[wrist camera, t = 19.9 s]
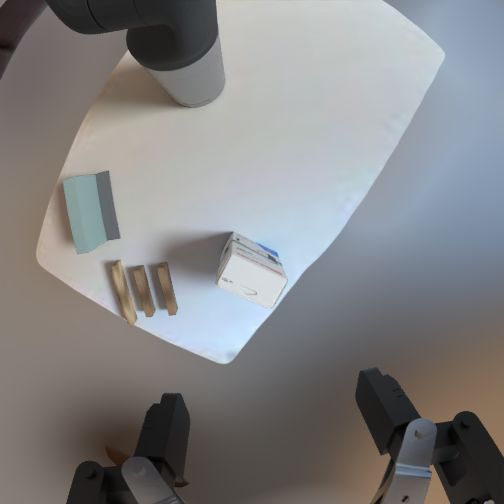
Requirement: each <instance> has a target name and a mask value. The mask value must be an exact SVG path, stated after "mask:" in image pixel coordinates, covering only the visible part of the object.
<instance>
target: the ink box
mask: <svg viewBox="0 0 504 504" xmlns="http://www.w3.org/2000/svg"><path fill="white" fill-rule="evenodd" d="M287 282H288V279H287V277H286V274H285V272H284V269H283V267H282V264H281V261H280V259H279V256H278V254H277V252H274V251H272V250H270V249H268V248H266V247H264V246H262V245H260V244H258V243H256V242H254V241H252V240H250V239H248V238H246V237H244V236H242V235H240V234H238V233H236V232H233V233H232V234H231V236H230V237H229V239H228V241H227V243H226V245H225V247H224V249H223V251H222V253H221V257H220V263H219V266H218V272H217V277H216V282H215V283H216V285H218V286H219V287H220V288H222V289H225V290H226V291H229V292H231V293H233V294H236V295H238V296H240V297H242V298H245V299H247V300H250V301H252V302H254V303H256V304H258V305H261V306H263V307H266V308H273V307H274V305H275V304H276V302H277V300H278V299H279V297H280V295H281V293H282V292H283V290H284V288H285V286H286V284H287Z"/></svg>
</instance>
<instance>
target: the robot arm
mask: <svg viewBox="0 0 504 504" xmlns="http://www.w3.org/2000/svg"><path fill="white" fill-rule="evenodd" d="M45 1H46V2H47V4H48V5H49V7H50V8H51V9H52V11H53V12H54V13H55V14H56V16H57V17H58V18H59V19H60V20H61V21H62V22H63V23H64V24H65V25H66V26H68V27H69V28H70V29H72V30H74V31H76V32H78V33H82V34H101V33H107V32H113V31H119V30H124V29H128V31H127V36H126V42H127V46H128V49H129V51H130V53H131V55H132V56H133V57H134V58H135V59H136V60H137V61H138V62H139V63H140V64H141V65H142V66H143V67H144V68H145V69H146V70H147V71H148V72H149V73H150V74H151V75H152V76H153V77H154V79H155V80H156V81H157V82H158V83H159V84H160V85H161V86H162V87H163V88H164V89H165V90H166V91H167V92H168V93H169V95H170V96H171V97H172V98H173V99H174V100H175V101H176V102H178V103H179V104H181V105H184V106H187V107H200V106H203V105H206V104H208V103H210V102H212V101H213V100H215V99H216V98H217V97H218V96H219V95H220V93H221V91H222V90H223V87H224V83H225V76H224V67H223V59H222V52H221V44H220V38H219V30H218V23H217V10H216V0H45ZM355 396H356V402H357V405H358V407H359V409H360V411H361V413H362V416H363V418H364V420H365V422H366V424H367V426H368V429H369V431H370V433H371V435H372V437H373V439H374V442H375V444H376V446H377V448H378V450H379V453H380V455H384V454H387V453H389V454H390V456H391V458H390V460H389V463H388V465H387V468H386V471H385V473H384V476H383V478H382V481H381V483H380V486H379V488H378V490H377V492H376V494H375V496H374V497H373V499H372V501H371V503H370V504H423V503H424V501H425V498H426V494H427V491H428V487H429V484H430V481H431V476H432V472H431V471H429V468H430V465H432V464H433V465H434V467H435V469H436V472H437V474H438V476H439V478H440V480H441V483H442V485H443V487H444V490H445V492H446V494H447V496H448V499H449V501H450V504H504V457H503V456H502V454H501V452H500V451H499V449H498V447H497V446H496V444H495V443H494V441H493V439H492V438H491V436H490V435H489V433H488V432H487V430H486V429H485V427H484V426H483V424H482V423H481V421H480V420H479V418H478V417H477V416H476V415H475V414H474V413H472V412H469V411H463V412H460V413H458V414H457V415H456V416H455V417H454V419H453V421H448V422H443V423H433V422H432V421H431V420H429V419H425V418H421V416H420V415H419V414H418V412H417V411H416V409H415V407H414V406H413V404H412V403H411V402H410V400H409V399H408V397H407V396H406V395H405V392H404V391H403V390H402V389H401V387H400V385H399V384H398V382H397V381H396V380H395V379H394V378H392V377H391V376H389V375H384V376H383V375H382V374H381V372H380V371H379V369H378V368H377V367H373V368H369V369H366V370H362V371H360V373H359V377H358V383H357V388H356V394H355ZM142 428H143V429H142V430H141V433H140V437H139V440H138V444H137V447H136V450H135V454H134V456H133V457H132V458H130V459H128V460H127V461H126V462H124V464H123V465H121V466H114V467H102V466H101V465H100V464H98V463H97V462H94V461H85V462H83V463H81V464H80V465H79V466H78V467H77V469H76V472H75V475H74V478H73V482H72V485H71V488H70V492H69V495H68V499H67V503H66V504H185V503H184V501H183V500H182V499H181V498H180V496H179V495H178V494H177V492H176V491H175V490H174V485H175V482H183V476H184V468H185V459H186V452H187V445H188V437H189V430H190V416H189V412H188V410H187V408H186V405H185V403H184V400H183V397H182V395H181V394H180V393H164V394H163V395H162V398H161V402H160V404H153V405H152V406H151V407H150V409H149V410H148V411H147V413H146V417H145V422H144V424H143V426H142Z"/></svg>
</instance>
